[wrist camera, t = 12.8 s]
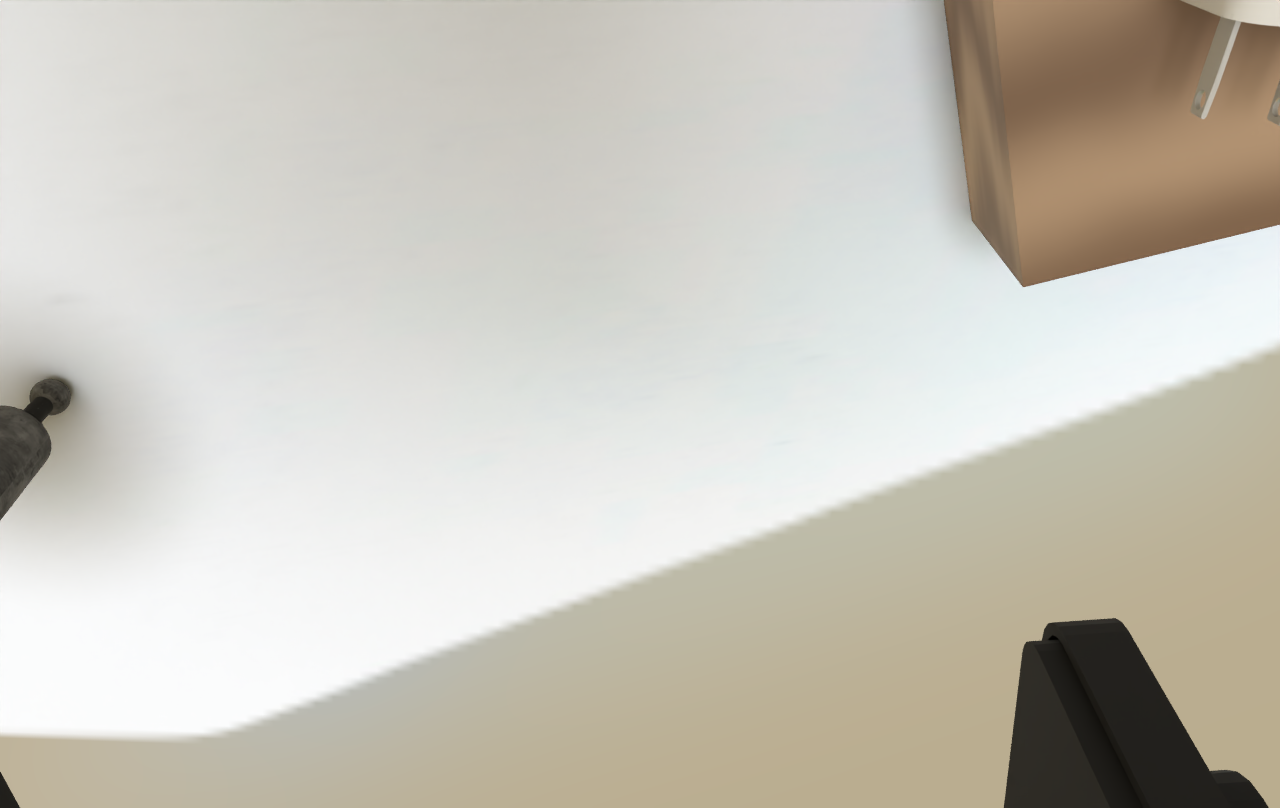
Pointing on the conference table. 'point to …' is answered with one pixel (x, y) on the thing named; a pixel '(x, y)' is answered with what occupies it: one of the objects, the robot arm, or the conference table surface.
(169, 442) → the conference table surface
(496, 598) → the conference table surface
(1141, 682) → the robot arm
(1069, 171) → the walnut block
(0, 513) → the microphone
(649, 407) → the conference table surface
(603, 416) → the conference table surface
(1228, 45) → the usb wall charger
